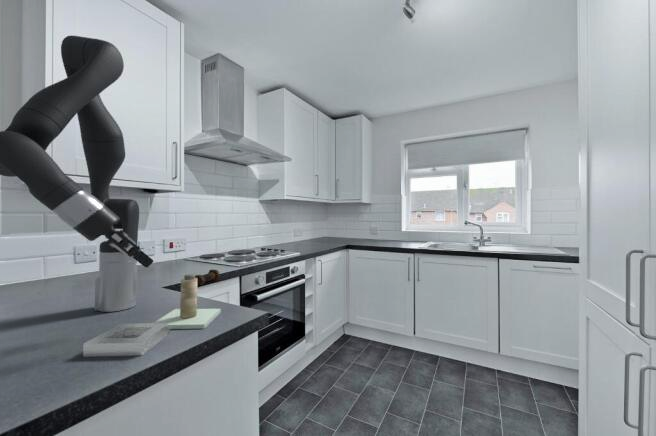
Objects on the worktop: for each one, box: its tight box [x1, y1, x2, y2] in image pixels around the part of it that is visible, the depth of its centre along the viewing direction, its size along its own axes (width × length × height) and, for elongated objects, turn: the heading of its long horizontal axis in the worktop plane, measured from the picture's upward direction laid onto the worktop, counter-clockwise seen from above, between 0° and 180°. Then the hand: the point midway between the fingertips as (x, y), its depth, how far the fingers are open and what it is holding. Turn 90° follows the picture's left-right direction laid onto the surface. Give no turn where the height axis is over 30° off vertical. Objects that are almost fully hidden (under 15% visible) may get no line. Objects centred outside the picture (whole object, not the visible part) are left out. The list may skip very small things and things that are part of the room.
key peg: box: [179, 274, 198, 319], centre depth 76 cm, size 4×4×11 cm
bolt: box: [194, 269, 221, 287], centre depth 122 cm, size 6×5×15 cm
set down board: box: [153, 308, 222, 330], centre depth 76 cm, size 13×13×1 cm
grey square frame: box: [82, 322, 170, 358], centre depth 61 cm, size 11×11×2 cm
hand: (147, 262), depth 70 cm, fingers open, 8 cm apart
